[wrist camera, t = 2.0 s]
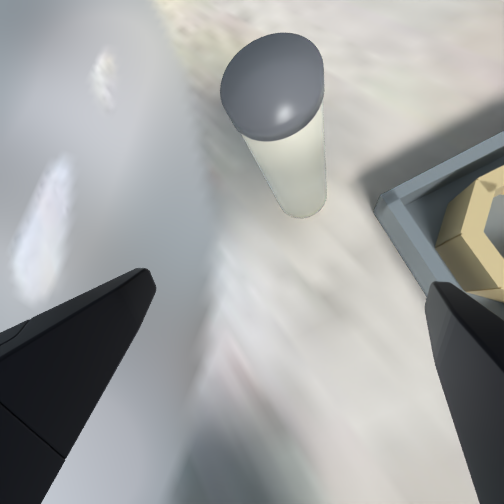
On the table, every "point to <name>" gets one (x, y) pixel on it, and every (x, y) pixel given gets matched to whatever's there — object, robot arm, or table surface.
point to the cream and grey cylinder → (281, 116)
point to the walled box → (453, 223)
